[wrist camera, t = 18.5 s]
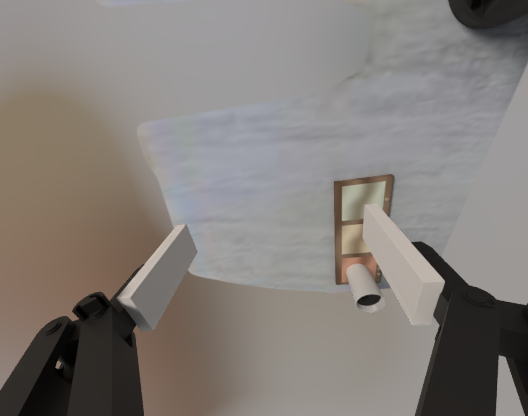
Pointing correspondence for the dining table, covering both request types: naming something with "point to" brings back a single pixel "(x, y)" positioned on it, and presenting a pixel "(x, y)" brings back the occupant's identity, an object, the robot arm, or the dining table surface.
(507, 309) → the robot arm
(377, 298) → the white coffee cup
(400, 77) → the dining table surface
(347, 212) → the tile board
